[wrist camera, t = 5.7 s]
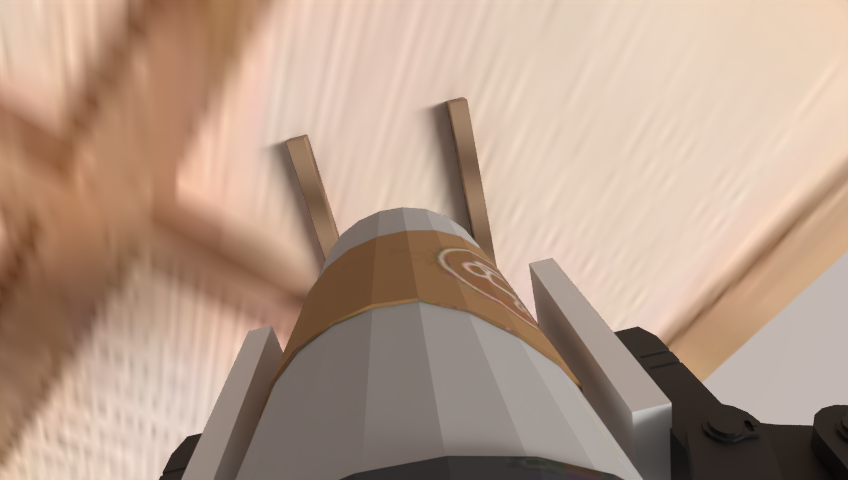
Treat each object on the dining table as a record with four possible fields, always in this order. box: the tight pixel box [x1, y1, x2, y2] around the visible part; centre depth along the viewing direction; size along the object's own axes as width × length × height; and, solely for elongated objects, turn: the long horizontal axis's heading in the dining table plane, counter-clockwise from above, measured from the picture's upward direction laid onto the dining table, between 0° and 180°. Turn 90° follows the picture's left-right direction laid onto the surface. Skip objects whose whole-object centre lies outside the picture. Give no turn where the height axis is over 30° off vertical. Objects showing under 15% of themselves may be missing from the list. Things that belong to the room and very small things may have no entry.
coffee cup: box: [235, 207, 643, 480], centre depth 12 cm, size 8×8×15 cm
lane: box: [287, 97, 497, 267], centre depth 34 cm, size 20×12×6 cm, turn 12°
